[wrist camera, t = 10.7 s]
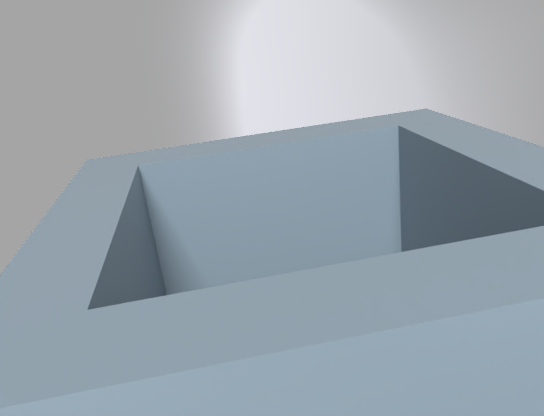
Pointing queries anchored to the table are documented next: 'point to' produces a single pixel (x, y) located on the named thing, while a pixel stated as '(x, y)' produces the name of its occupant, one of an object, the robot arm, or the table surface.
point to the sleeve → (287, 278)
